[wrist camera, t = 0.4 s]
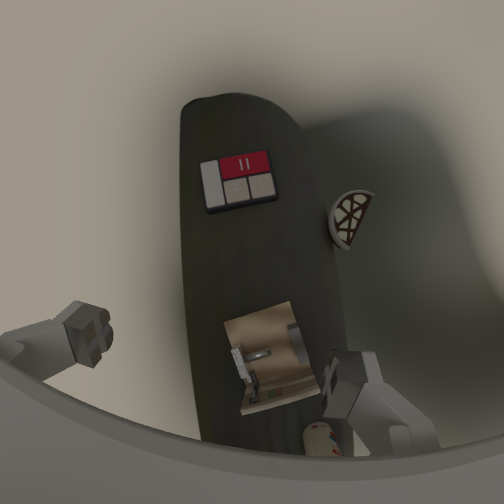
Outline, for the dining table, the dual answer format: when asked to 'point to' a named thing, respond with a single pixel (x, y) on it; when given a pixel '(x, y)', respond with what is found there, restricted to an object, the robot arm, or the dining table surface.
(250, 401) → the dark bent bar
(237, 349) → the slab with metal rod
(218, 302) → the dining table surface
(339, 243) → the food container
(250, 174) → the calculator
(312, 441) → the aerosol can
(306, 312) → the dining table surface
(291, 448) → the dining table surface
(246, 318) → the gauge frame
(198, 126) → the dining table surface
